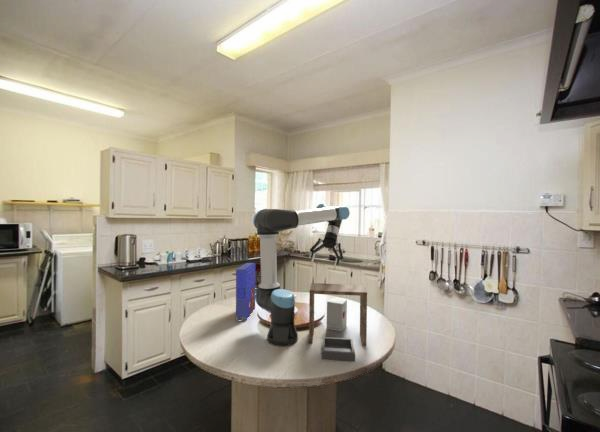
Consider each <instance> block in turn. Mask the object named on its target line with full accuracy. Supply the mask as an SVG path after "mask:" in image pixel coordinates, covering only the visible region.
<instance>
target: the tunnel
mask: <svg viewBox="0 0 600 432" xmlns="http://www.w3.org/2000/svg"><path fill="white" fill-rule="evenodd" d="M315 295H336V296H337V295H338V296H360V297H359V298H360V299H359V300H360V302H359V336H360V340H361V343H362V347H367V336H368V335H367V331H368V330H367V328H368V325H367V324H368V321H367V319H368V291H367V289H366V288H365V285H364V284H349V283H348V284H345V283H344V284H342V283H320V282H319V283H316V282H312V283H311V284H310V287H309V300H308V301H309V303H308V304H309V305H308V308H309V310H308V315H309V316H308V319H309V321H308V344H313V340H314V335H315V334H314V333H315Z"/></svg>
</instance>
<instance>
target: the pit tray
mask: <svg viewBox="0 0 600 432" xmlns="http://www.w3.org/2000/svg"><path fill="white" fill-rule="evenodd" d="M321 345H322V346H321V360H325V361H326V360H327V361H339V362H341V361H342V362H356V351H355V346H354V340H353V338H345V337H330V336H329V337H326V336H323V337H322V344H321Z"/></svg>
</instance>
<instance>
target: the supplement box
mask: <svg viewBox="0 0 600 432" xmlns="http://www.w3.org/2000/svg"><path fill="white" fill-rule="evenodd" d="M347 308H348V299H346V298H339V297H331V298H330V299H329V300H327V301H326V330H333V331H337V332H341V333H342V332H343V331H344V330H345V328H347V321H348V319H347V316H348V315H347V314H348V313H347V312H348V311H347V310H348V309H347Z"/></svg>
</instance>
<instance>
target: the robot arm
mask: <svg viewBox="0 0 600 432" xmlns="http://www.w3.org/2000/svg"><path fill="white" fill-rule="evenodd" d="M350 212H351V211H350V208H349V207H347V206H345V205H340V206H339V205H338V206H337V205H336V206H328V205H326V204H325V203H319V204H318V205H317V206H316V208H312V209H305V210H295V209H280V208H279V209H278V208H264V209H260V210H258V211H257V212H256V213H255V214H254V216H253V219H252V220H253V221H252V222H253V226H254V227H255V229H256V236H257V237H259V242H260V243H259V245H260V246H259V247H260V249H259V250H260V251H259V252H260V256H259V257H260V283H259V284H258V286H257V287H258V288H257V290H255V304H257V306H259V308H261V309H262V310H264V311H266V312H268V313H269V314H270V326H269V329H268V331H267V335H266V337H267V338H266V341H267V343H268V344H270V343H271V344H270V345H272V346H276V345H277V346H276V347H285V346H286V347H288V346H292V345H294V344H295V343H297V342H298V340H299V339H298V336H299V335H298V331H297V328H296V323H295V303H296V299H295V298H296V297H295V294H294V292H292V291H290V290H288V289H284V288H283V289H282V288H281V284H280V283H279V282H278V268H277V267H278V264H277V263H278V261H277V237H278V236H279V235H280V232H284V231H288V230H292V229H293V230H294V229H296V228H298V227H299V226H304V225H311V224H312V225H313V224H318V223H324V222H327V223H328V224H327V227H326V231H325V234H324V237H323V239H321V238H320V237H318V240H317V241H316V242H315V243H314V245H313V246H311V248H310V249H309V251H310V253H311V255H310V258H311V261H310V264H311V265H312V266H313V265H314V262H315V261H314V260H315V257H316V253H317V252H319V251H320V250H322V249H324V248H325V249H329V250H332V251H333V253H334V255H335V258H336V259H335V262H334V266H333V271H336V268H337V266H339V263H340V261H343V260H344V257H343V252H342V248H341V247H342V245H341V242H337V241H338V236H339V232H340V228H341V225H342V221H343V220H347V219H348V218H349V217H350ZM321 243H322V244H321ZM320 244H321V245H320ZM335 247H337V249H338V251H337V249H336V248H335ZM338 252H339V254H338Z"/></svg>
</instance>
